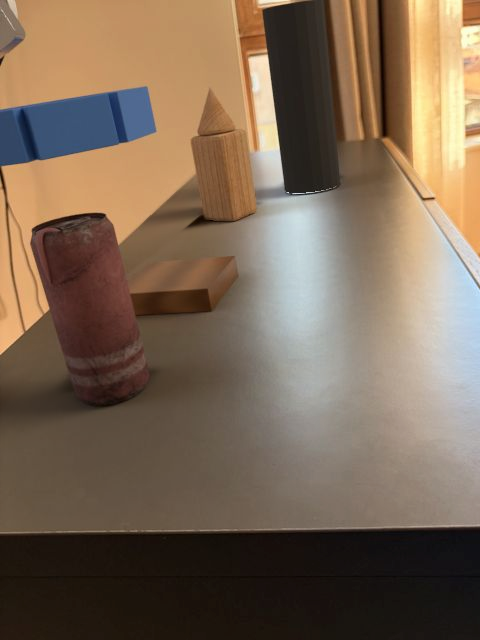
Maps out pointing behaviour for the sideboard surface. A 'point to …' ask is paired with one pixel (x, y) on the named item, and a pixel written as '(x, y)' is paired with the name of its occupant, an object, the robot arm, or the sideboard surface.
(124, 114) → the ring
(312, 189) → the vase
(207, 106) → the decorative item
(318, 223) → the sideboard surface
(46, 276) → the can
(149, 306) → the platform
